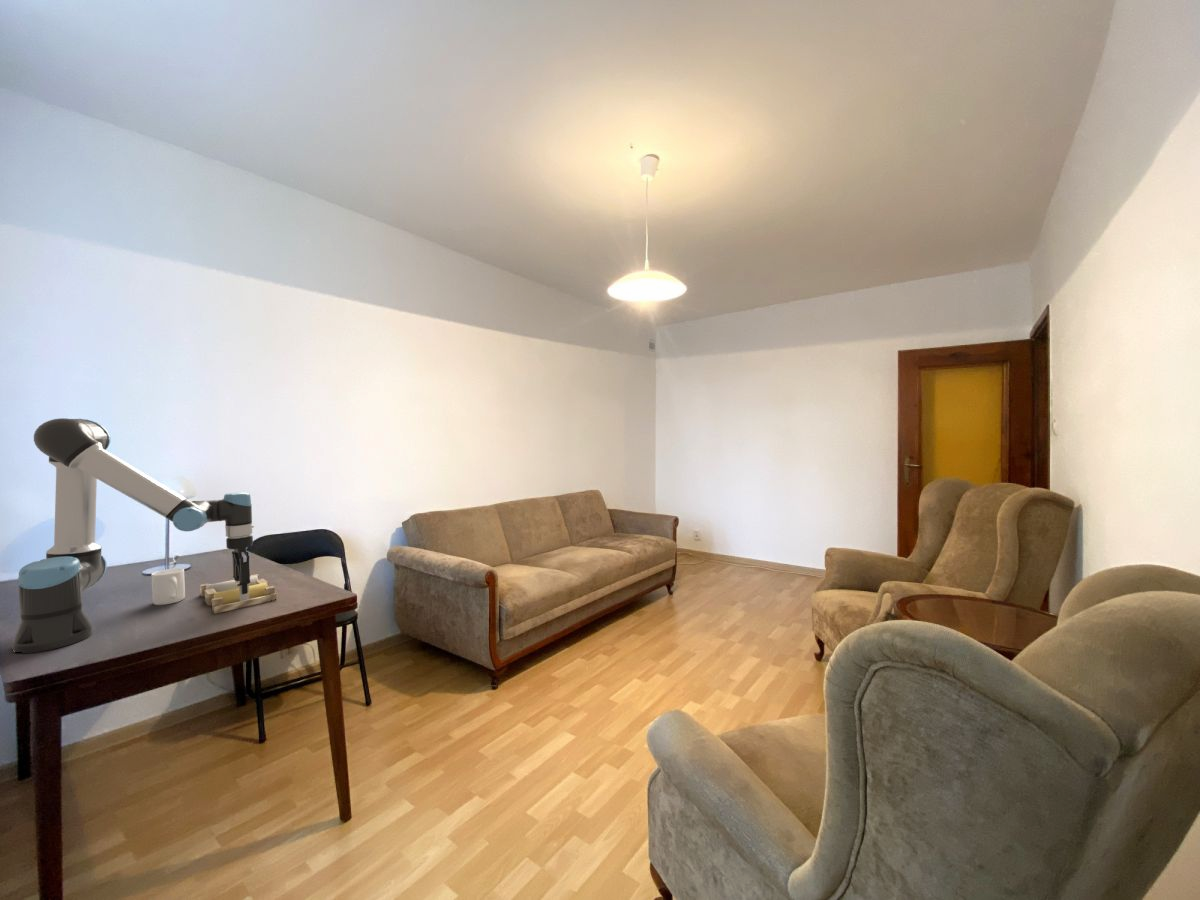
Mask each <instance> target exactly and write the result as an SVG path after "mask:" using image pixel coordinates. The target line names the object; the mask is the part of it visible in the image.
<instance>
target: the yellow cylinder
mask: <svg viewBox="0 0 1200 900" xmlns="http://www.w3.org/2000/svg"><path fill="white" fill-rule="evenodd" d="M266 587H269V583H268V584H267V583H262V584H257V585H252V586H249V599H253V598H257V597H262V596H265V588H266ZM218 597H222V598H223V605H225V604H230V603H234V602H239V588H237V589H233V590H228V591H223V592H218V593H214V598H218Z"/></svg>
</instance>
